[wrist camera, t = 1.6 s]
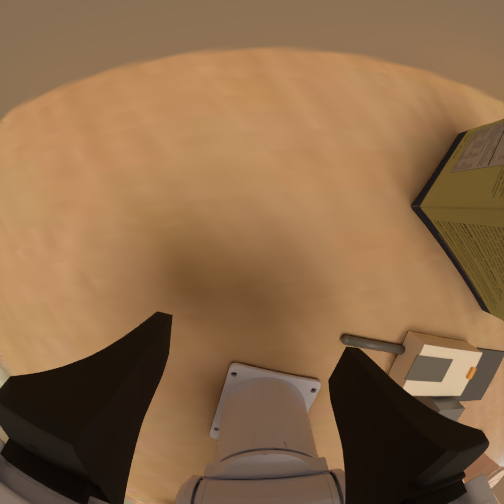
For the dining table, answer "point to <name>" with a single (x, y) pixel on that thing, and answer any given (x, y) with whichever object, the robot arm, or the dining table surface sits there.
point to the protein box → (471, 211)
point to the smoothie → (485, 470)
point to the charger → (443, 405)
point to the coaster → (482, 375)
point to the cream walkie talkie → (427, 363)
